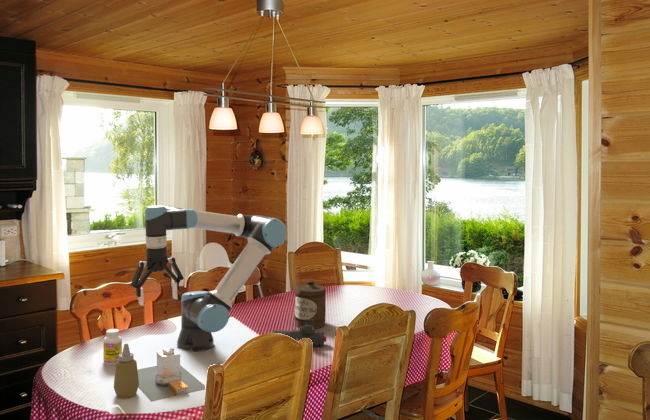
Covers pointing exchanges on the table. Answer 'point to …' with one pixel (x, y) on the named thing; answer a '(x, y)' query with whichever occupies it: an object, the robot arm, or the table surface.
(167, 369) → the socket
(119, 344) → the supplement bottle
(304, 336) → the laser sight
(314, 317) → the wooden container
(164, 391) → the mat
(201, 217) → the robot arm
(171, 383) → the grey copper fixture base
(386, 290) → the table surface
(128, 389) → the squeeze bottle
